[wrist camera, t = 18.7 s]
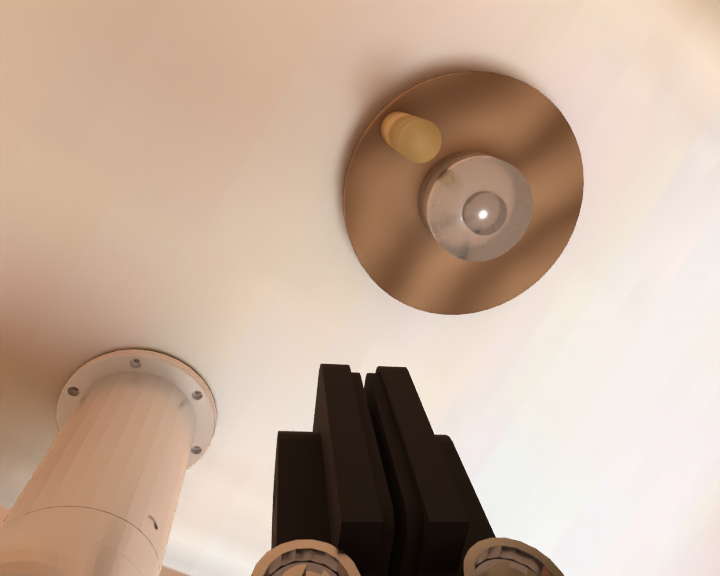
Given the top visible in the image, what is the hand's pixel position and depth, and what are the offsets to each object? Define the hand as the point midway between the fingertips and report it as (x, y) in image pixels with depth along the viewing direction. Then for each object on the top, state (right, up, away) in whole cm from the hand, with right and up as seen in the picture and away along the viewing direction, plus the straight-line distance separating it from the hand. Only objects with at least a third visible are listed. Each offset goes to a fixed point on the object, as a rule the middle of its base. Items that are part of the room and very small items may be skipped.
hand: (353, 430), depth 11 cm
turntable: (+8, +10, +31) cm, 33 cm away
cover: (+8, +9, +29) cm, 32 cm away
